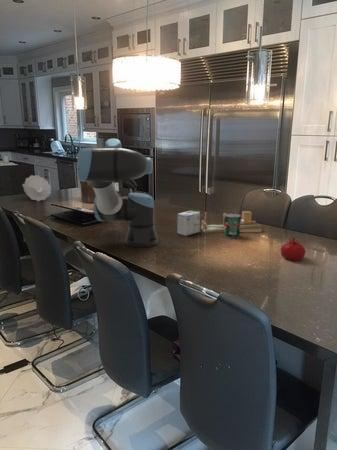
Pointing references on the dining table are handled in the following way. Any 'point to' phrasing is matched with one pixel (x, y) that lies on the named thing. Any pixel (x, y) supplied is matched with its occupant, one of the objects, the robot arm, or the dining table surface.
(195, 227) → the light bulb box
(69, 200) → the dining table surface
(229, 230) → the canned tomato
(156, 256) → the dining table surface
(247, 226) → the base
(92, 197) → the plant pot
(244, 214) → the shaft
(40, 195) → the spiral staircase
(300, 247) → the pomegranate
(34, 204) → the dining table surface
